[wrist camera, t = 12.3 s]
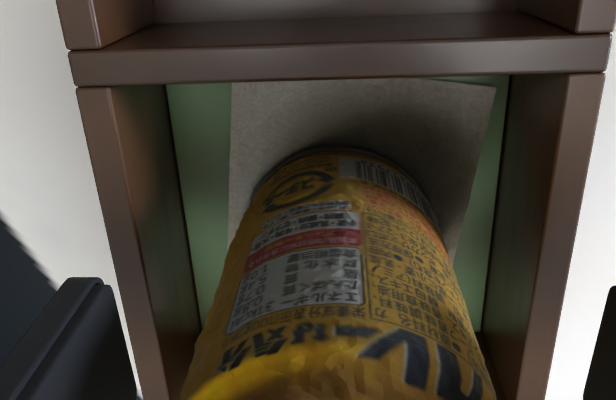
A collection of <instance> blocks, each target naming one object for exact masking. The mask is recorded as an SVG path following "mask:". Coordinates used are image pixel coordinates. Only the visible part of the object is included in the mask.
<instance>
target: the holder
mask: <svg viewBox="0 0 616 400" xmlns="http://www.w3.org/2000/svg"><path fill="white" fill-rule="evenodd" d="M56 4H57V9H58V13H59V18H60V22H61V27H62V31H63V36H64V40H65V45H66V48H67V49H69V50H71V51H69V52H68V58H69V62H70V67H71V72H72V76H73V81H74V84H75V86H78V88H76V95H77V100H78V104H79V109H80V114H81V118H82V123H83V127H84V132H85V136H86V141H87V145H88V150H89V154H90V159H91V164H92V168H93V173H94V177H95V182H96V186H97V191H98V195H99V200H100V204H101V209H102V213H103V218H104V223H105V227H106V232H107V236H108V241H109V245H110V250H111V254H112V259H113V263H114V268H115V273H116V277H117V282H118V286H119V291H120V295H121V300H122V304H123V309H124V313H125V318H126V323H127V327H128V332H129V336H130V341H131V345H132V350H133V354H134V359H135V363H136V368H137V373H138V377H139V382H140V386H141V391H142V395H143V400H179V397H180V394H181V390H182V387H183V384H184V382H185V379H186V377H187V376H188V369H189V367H190V364H191V362H192V360H193V357H194V353H195V349H194V345H195V343H196V341H197V339H198V336H199V335H200V334H201V332H202V331H203V330H204V325H205V322H206V320H207V313H208V311H209V310H210V308H211V307H212V305H213V302H214V295H215V292H216V290H217V288H218V286H219V281H220V278H221V276H222V272H223V268H224V262H225V258H226V256H227V246H228V217H229V161H230V143H231V139H230V125H231V94H232V83H240V82H276V81H311V80H347V79H382V78H419V79H429V80H438V81H447V82H458V83H463V84H467V85H480V86H489V87H496V92H495V97H494V101H493V105H492V109H491V114H490V119H489V123H488V126H487V130H486V133H485V137H484V140H483V144H482V148H481V153H480V156H479V160H478V164H477V170H476V174H475V177H474V181H473V186H472V190H471V196H470V201H469V205H468V208H467V211H466V214H465V220H464V222H463V226H462V230H461V233H460V237H459V241H458V247H457V249H456V253H455V257H454V261H453V266H452V267H453V270H454V273H455V276H456V279H457V282H458V286H459V288H460V291H461V294H462V297H463V299H464V301H465V304H466V309H467V311H468V315H469V318H470V321H471V324H472V328H473V331H474V334H475V337H476V339H477V342H478V345H479V348H480V351H481V354H482V355H483V357H484V359H485V362H484V363H485V366H486V369H487V371H488V373H489V376H490V379H491V382H492V385H493V388H494V391H495V393H496V397H497V400H545V395H546V389H547V384H548V379H549V373H550V368H551V363H552V358H553V352H554V347H555V342H556V336H557V331H558V326H559V320H560V315H561V310H562V305H563V299H564V294H565V289H566V283H567V278H568V273H569V267H570V262H571V257H572V252H573V246H574V241H575V236H576V230H577V225H578V220H579V214H580V209H581V204H582V199H583V193H584V188H585V183H586V177H587V172H588V167H589V161H590V156H591V151H592V146H593V140H594V135H595V130H596V124H597V119H598V114H599V109H600V103H601V98H602V93H603V87H604V82H605V77H606V76H605V73H603V71H605V70H606V68H607V64H608V58H609V53H610V48H611V42H612V35H611V34H610V32H613V31H614V28H615V23H616V0H56Z"/></svg>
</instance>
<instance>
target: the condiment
mask: <svg viewBox="0 0 616 400" xmlns="http://www.w3.org/2000/svg"><path fill="white" fill-rule="evenodd" d="M495 92H496V87H489V86H480V85H467V84H463V83H458V82H447V81H438V80H429V79H419V78H382V79H347V80H311V81H276V82H240V83H232V94H231V125H230V139H231V143H230V161H229V217H228V246H227V256H226V258H225V262H224V268H223V272H222V276H221V278H220V281H219V286H218V288H217V290H216V292H215V295H214V302H213V305H212V307H211V308H210V310H209V311H208V313H207V320H206V322H205V325H204V330H203V331H202V332H201V334H200V335H199V336H198V339H197V341H196V343H195V345H194V349H195V353H194V357H193V360H192V362H191V364H190V367H189V369H188V376H187V377H186V379H185V382H184V384H183V387H182V390H181V394H180V397H179V400H497V397H496V393H495V391H494V388H493V385H492V382H491V379H490V376H489V373H488V371H487V369H486V366H485V363H484V362H485V359H484V357H483V355H482V354H481V351H480V348H479V345H478V342H477V339H476V337H475V334H474V331H473V328H472V324H471V321H470V318H469V315H468V311H467V309H466V304H465V301H464V299H463V297H462V294H461V291H460V288H459V286H458V282H457V279H456V276H455V273H454V270H453V267H452V266H453V261H454V257H455V253H456V249H457V247H458V241H459V237H460V233H461V230H462V226H463V222H464V220H465V214H466V211H467V208H468V205H469V201H470V196H471V190H472V186H473V181H474V177H475V174H476V170H477V164H478V160H479V156H480V153H481V148H482V144H483V140H484V137H485V133H486V130H487V126H488V123H489V119H490V114H491V109H492V105H493V101H494V97H495Z"/></svg>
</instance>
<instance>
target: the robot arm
mask: <svg viewBox="0 0 616 400" xmlns="http://www.w3.org/2000/svg"><path fill="white" fill-rule="evenodd" d="M136 395H137V388H136V383H135V379H134V375H133V371H132V367H131V363H130V359H129V354H128V350H127V346H126V342H125V338H124V334H123V330H122V326H121V322H120V318H119V313H118V309H117V305H116V301H115V297H114V293H113V290H112V288H111V286H110V285H104V282H103V281H102V279H101V278H98V277H71V278H68V279H67V280H66V281H65V282H64V283H63V284H62V286H61V287H60V288H59V290H58V291H57V292H56V294H55V295H54V296H53V298H52V299H51V300H50V301H49V303H48V304H47V305H46V306H45V308H44V309H43V310H42V312H41V313H40V314H39V316H38V317H37V318H36V320H35V321H34V322H33V324H32V325H31V326H30V327H29V329H28V330H27V331H26V333H25V334H24V335H23V336H22V338H21V339H20V340H19V342H18V343H17V344H16V346H15V347H14V348H13V350H12V351H11V352H10V353H9V355H8V356H7V357H6V359H5V360H4V361H3V362H2V364H1V365H0V400H136ZM583 400H616V286H612V287H611V288H610V290H609V293H608V297H607V301H606V305H605V309H604V313H603V317H602V321H601V325H600V329H599V333H598V337H597V341H596V345H595V349H594V353H593V357H592V361H591V365H590V369H589V373H588V377H587V381H586V385H585V389H584V394H583Z"/></svg>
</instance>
